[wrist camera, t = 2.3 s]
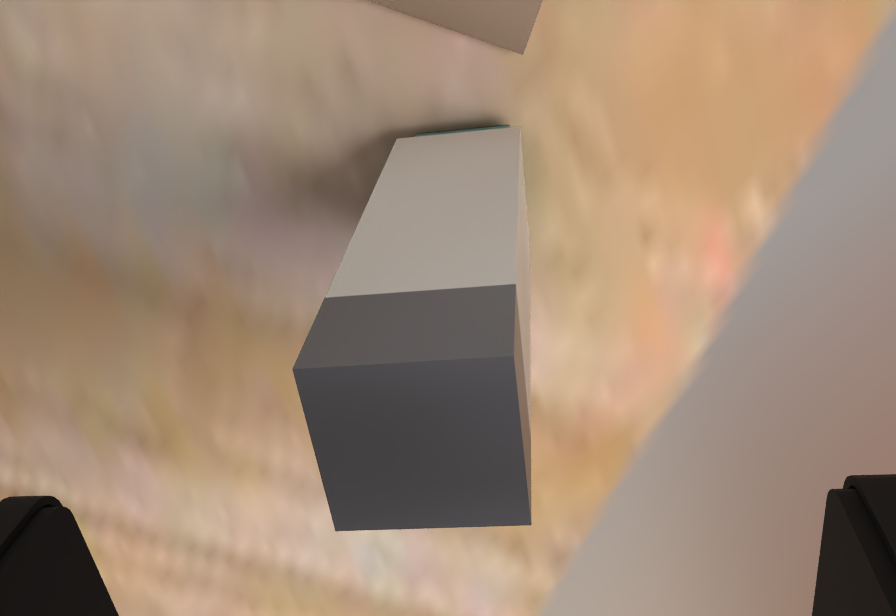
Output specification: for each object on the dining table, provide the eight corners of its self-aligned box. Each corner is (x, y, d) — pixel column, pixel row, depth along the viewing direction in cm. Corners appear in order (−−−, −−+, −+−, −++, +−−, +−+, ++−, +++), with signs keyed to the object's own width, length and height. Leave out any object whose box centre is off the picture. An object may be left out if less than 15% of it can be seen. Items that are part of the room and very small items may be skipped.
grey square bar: (403, 124, 21) (292, 369, 11) (520, 112, 20) (513, 356, 10) (419, 230, 22) (336, 531, 12) (529, 221, 22) (530, 525, 12)
